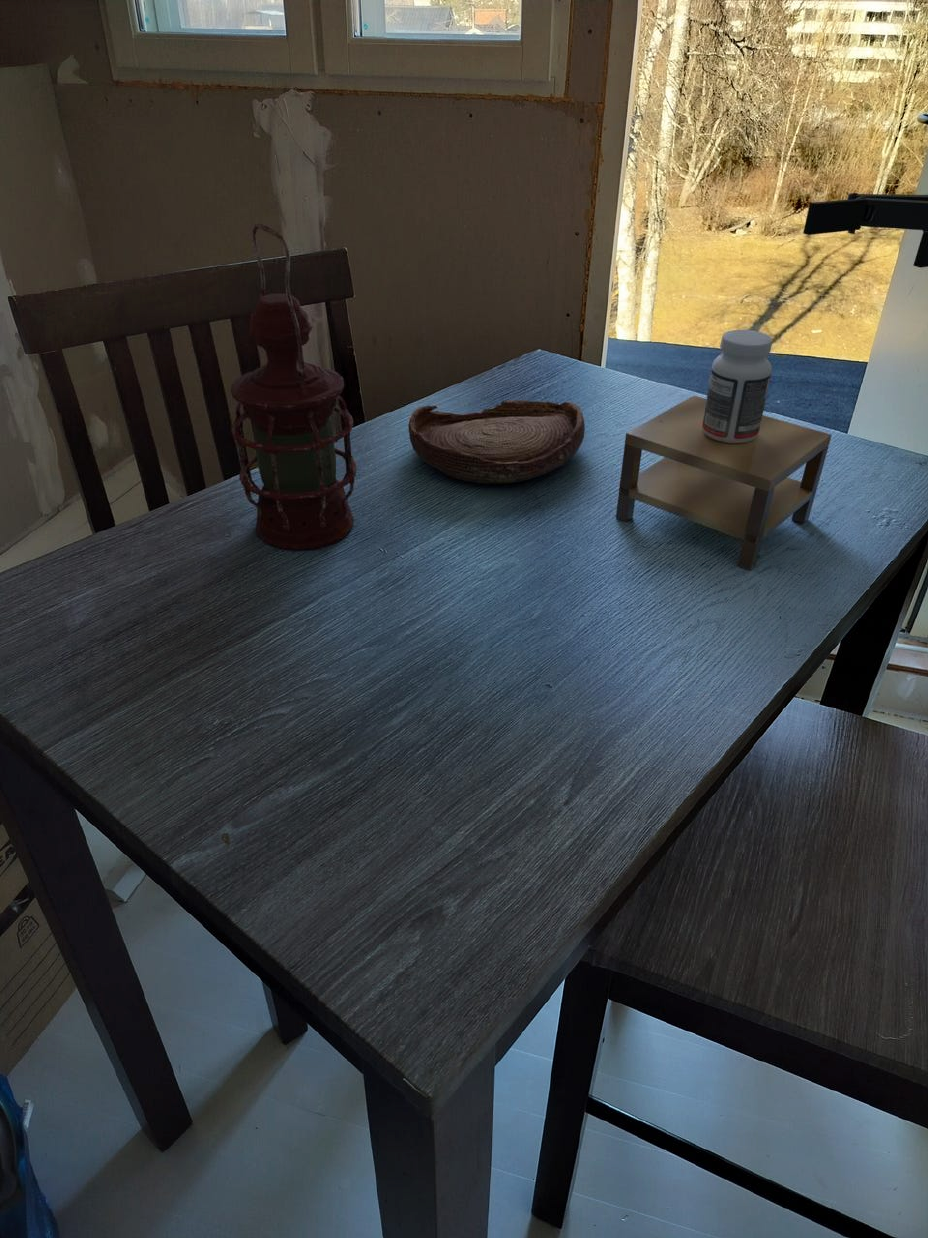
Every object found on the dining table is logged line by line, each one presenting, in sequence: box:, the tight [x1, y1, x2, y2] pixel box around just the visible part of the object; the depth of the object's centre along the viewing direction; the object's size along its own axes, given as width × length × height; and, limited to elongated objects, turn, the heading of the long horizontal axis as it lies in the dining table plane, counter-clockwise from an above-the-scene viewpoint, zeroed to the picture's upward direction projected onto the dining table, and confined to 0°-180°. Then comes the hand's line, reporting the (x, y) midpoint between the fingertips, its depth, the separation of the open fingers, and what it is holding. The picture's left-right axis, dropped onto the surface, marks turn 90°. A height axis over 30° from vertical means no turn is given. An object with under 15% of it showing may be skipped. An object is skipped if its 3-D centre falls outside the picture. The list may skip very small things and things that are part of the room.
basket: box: [408, 399, 586, 485], centre depth 105 cm, size 22×20×5 cm
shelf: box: [615, 395, 833, 571], centre depth 91 cm, size 16×14×10 cm
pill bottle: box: [702, 329, 773, 443], centre depth 85 cm, size 6×6×10 cm
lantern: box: [230, 223, 358, 551], centre depth 83 cm, size 12×12×30 cm
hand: (861, 233), depth 76 cm, fingers open, 13 cm apart
